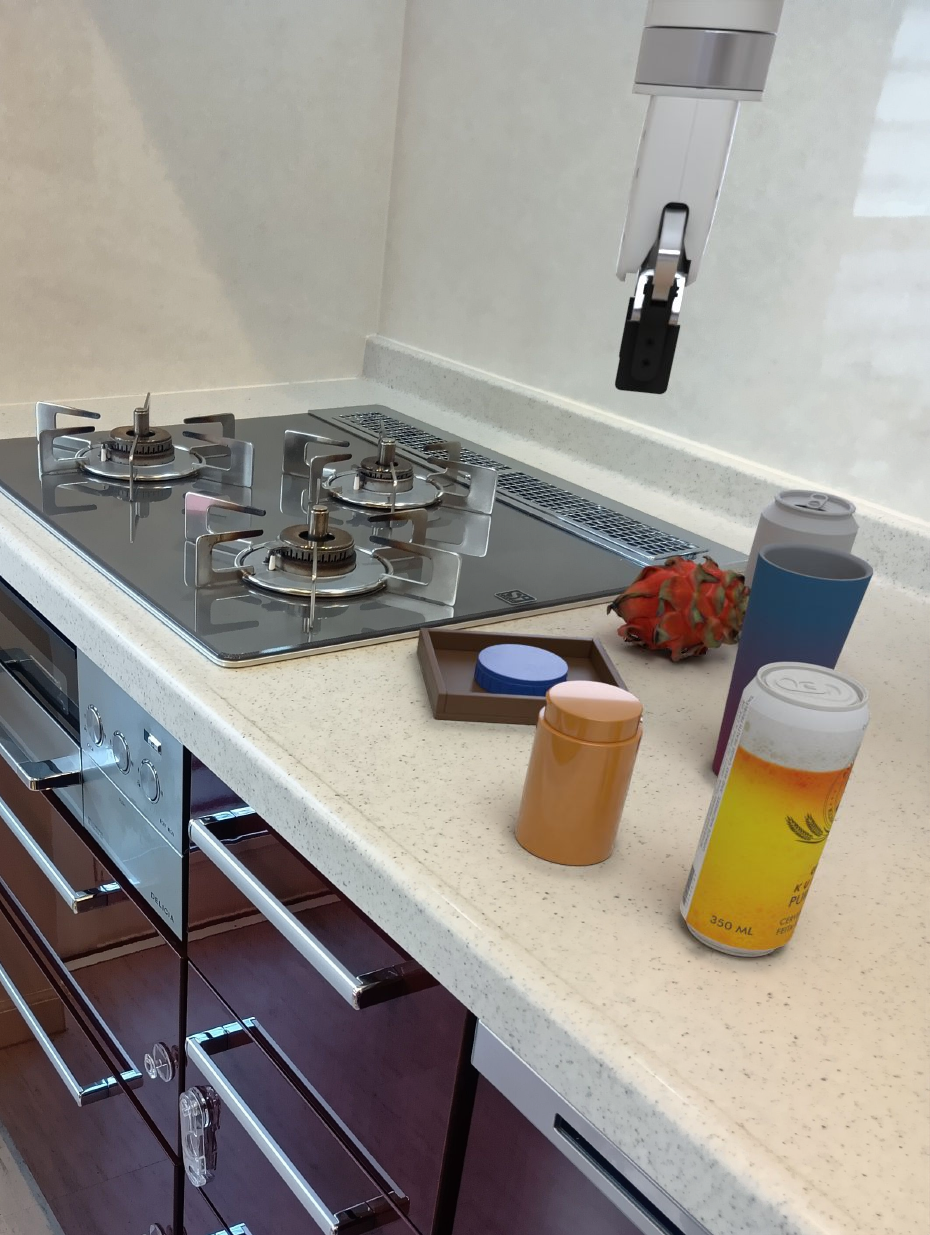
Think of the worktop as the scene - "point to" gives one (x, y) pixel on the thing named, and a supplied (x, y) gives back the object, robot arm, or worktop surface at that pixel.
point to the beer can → (773, 806)
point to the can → (804, 524)
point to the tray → (462, 698)
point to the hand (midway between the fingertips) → (640, 376)
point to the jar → (579, 772)
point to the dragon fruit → (683, 607)
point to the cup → (794, 615)
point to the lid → (519, 670)
